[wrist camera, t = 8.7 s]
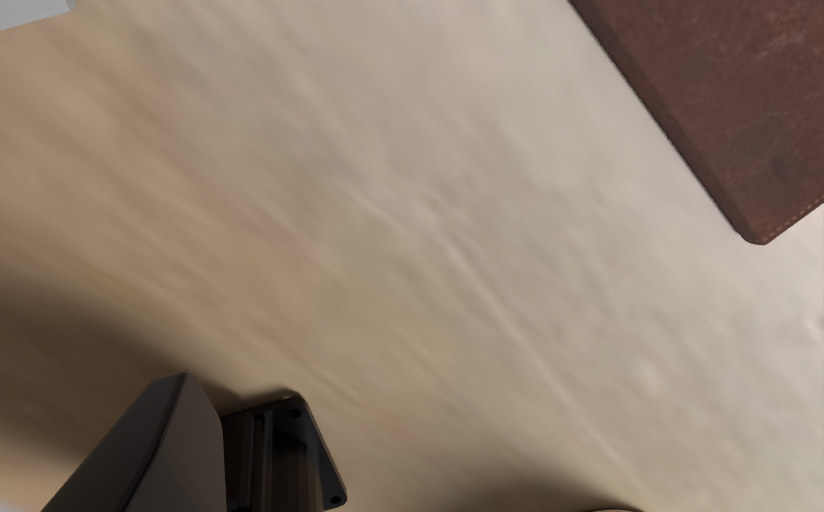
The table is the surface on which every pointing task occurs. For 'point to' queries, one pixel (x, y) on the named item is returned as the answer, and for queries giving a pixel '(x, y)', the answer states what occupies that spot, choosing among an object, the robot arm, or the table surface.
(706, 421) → the table surface
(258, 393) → the table surface
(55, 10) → the fulcrum stand
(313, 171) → the table surface
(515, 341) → the table surface
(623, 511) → the teacup with lid
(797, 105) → the notebook
